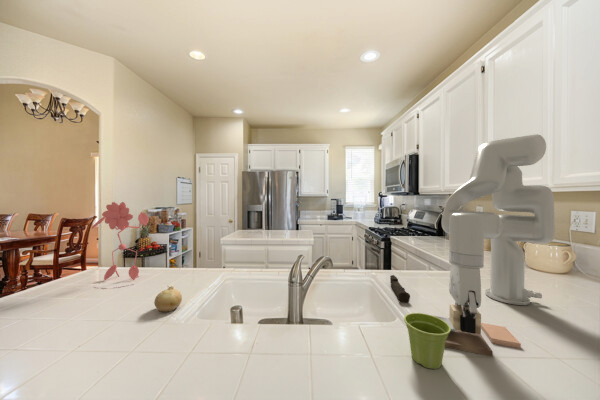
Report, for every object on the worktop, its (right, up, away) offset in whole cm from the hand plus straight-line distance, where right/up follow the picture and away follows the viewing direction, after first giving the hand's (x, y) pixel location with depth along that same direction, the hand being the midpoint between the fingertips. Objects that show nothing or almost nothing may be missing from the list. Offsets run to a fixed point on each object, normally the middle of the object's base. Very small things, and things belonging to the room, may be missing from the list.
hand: (464, 326), depth 61 cm
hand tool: (-6, -3, +30) cm, 31 cm away
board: (-3, -3, +1) cm, 4 cm away
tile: (+11, -3, +5) cm, 13 cm away
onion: (-88, -3, +15) cm, 89 cm away
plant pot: (-15, -3, -8) cm, 17 cm away
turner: (-3, 0, +1) cm, 4 cm away
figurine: (-124, -2, +38) cm, 130 cm away
